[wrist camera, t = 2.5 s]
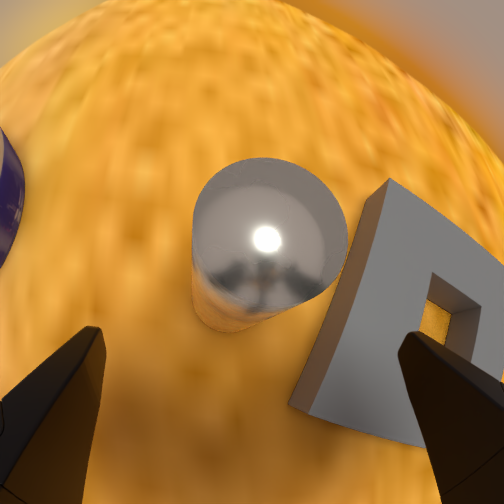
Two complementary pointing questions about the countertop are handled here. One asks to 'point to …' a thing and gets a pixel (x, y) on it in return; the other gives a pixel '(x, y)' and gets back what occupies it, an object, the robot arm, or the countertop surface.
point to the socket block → (399, 314)
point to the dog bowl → (9, 195)
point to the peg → (263, 242)
